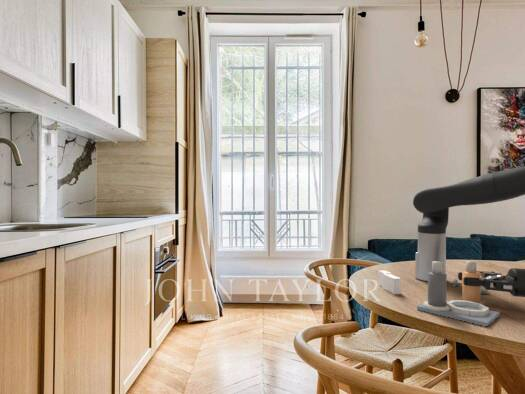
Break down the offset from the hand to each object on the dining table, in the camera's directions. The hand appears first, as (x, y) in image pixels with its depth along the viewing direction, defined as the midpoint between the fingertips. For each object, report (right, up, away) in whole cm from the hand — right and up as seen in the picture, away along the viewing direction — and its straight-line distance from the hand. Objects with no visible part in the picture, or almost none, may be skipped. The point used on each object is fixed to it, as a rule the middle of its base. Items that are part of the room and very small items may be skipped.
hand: (461, 278), depth 96 cm
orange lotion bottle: (+2, -7, -1) cm, 7 cm away
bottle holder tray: (-6, -7, -8) cm, 12 cm away
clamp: (+11, -8, +15) cm, 20 cm away
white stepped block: (-15, -8, +15) cm, 22 cm away
